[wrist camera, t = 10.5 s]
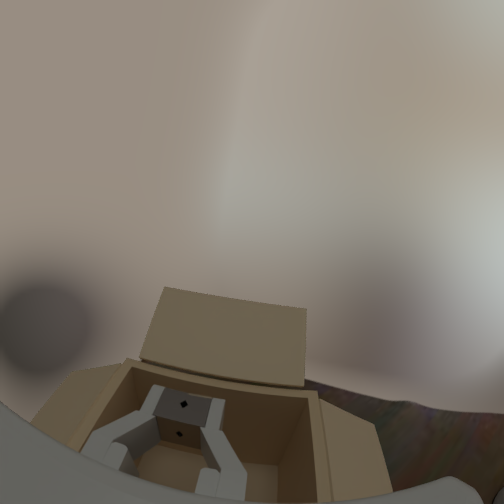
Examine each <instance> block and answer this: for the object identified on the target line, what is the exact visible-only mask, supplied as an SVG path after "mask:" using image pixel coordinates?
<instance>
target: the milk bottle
mask: <svg viewBox="0 0 504 504" xmlns="http://www.w3.org/2000/svg"><path fill="white" fill-rule="evenodd" d="M493 504H504V487H503V488H502V489H501V490H500V491H499V492H498V494H497V495H496V497H495V499H494V501H493Z"/></svg>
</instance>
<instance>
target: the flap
mask: <svg viewBox="0 0 504 504" xmlns="http://www.w3.org/2000/svg"><path fill="white" fill-rule="evenodd" d="M306 311H307V309H304V308H295V307H289V306H281V305H273V304H266V303H259V302H253V301H246V300H239V299H233V298H227V297H220V296H214V295H208V294H202V293H197V292H191V291H185V290H180V289H175V288H169V287H164V289H163V292H162V294H161V297H160V300H159V302H158V305H157V307H156V310H155V313H154V316H153V318H152V321H151V324H150V327H149V330H148V332H147V335H146V338H145V341H144V344H143V347H142V350H141V353H140V356H139V358H140V359H143V360H146V361H150V362H154V363H158V364H161V365H165V366H170V367H174V368H178V369H182V370H187V371H192V372H196V373H201V374H206V375H212V376H217V377H223V378H229V379H235V380H241V381H248V382H256V383H263V384H272V385H282V386H292V387H303V386H304V375H305V352H306Z"/></svg>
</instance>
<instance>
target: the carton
mask: <svg viewBox="0 0 504 504" xmlns="http://www.w3.org/2000/svg"><path fill="white" fill-rule="evenodd" d="M154 384H155V385H159V386H163V387H167V388H170V389H174V390H178V391H182V392H186V393H192V394H197V395H202V396H208V397H213V398H218V399H224V400H226V402H225V412H224V420H223V428H222V431H223V432H224V434H225V436H226V438H227V440H228V441H229V443H230V445H231V447H232V448H233V450H234V452H235V454H236V455H237V457H238V459H239V460H240V462H241V464H242V465H243V467H244V469H245V470H246V472H247V482H246V491H245V500H244V501H250V502H263V503H322V502H335V501H345V500H353V499H360V498H366V497H372V496H378V495H383V494H388V493H392V492H393V490H392V486H391V482H390V478H389V475H388V471H387V467H386V464H385V460H384V456H383V453H382V449H381V446H380V443H379V439H378V436H377V433H376V429H375V426H374V424H372V423H370V422H367V421H365V420H363V419H361V418H359V417H356V416H354V415H352V414H350V413H348V412H346V411H344V410H342V409H340V408H338V407H336V406H334V405H332V404H330V403H328V402H326V401H324V400H322V399H318V393H317V391H307V390H294V389H282V388H273V387H264V386H256V385H248V384H242V383H235V382H229V381H223V380H217V379H212V378H206V377H201V376H196V375H192V374H187V373H183V372H178V371H174V370H170V369H166V368H162V367H158V366H154V365H150V364H147V363H143V362H140V361H136V360H132V359H129V358H126V360H125V361H124V363H123V364H121V363H119V364H114V365H109V366H103V367H98V368H91V369H85V370H79V371H72V372H71V373H70V375H69V376H68V377H67V378H66V379H65V380H64V382H63V383H62V384H61V385H60V386H59V387H58V389H57V390H56V391H55V392H54V393H53V395H52V396H51V397H50V398H49V399H48V401H47V402H46V403H45V404H44V406H43V407H42V408H41V409H40V411H39V412H38V413H37V415H36V416H35V417H34V418H33V419H32V421H31V422H30V424H32V425H33V426H35V427H36V428H38V429H39V430H41V431H42V432H44V433H45V434H47V435H49V436H50V437H52V438H54V439H55V440H57V441H59V442H61V443H62V444H64V445H66V446H68V447H70V448H71V449H73V450H75V451H77V452H79V453H80V452H81V451H82V449H83V447H84V446H85V444H86V442H87V440H88V439H89V437H90V435H91V434H92V432H93V431H95V430H97V429H99V428H101V427H103V426H105V425H107V424H110V423H112V422H114V421H116V420H118V419H120V418H122V417H124V416H126V415H128V414H130V413H132V412H134V411H136V410H137V411H140V409H141V407H142V405H143V403H144V401H145V399H146V397H147V395H148V393H149V391H150V389H151V387H152V386H153V385H154ZM133 462H134V464H135V466H136V468H137V470H138V472H139V477H138V478H141V479H144V480H147V481H150V482H154V483H157V484H160V485H164V486H167V487H171V488H175V489H179V490H183V491H187V492H192V493H195V489H196V486H197V482H198V478H199V474H200V470H201V469H203V468H208V466H207V464H206V461H205V459H204V457H203V454H202V452H201V450H199V449H195V448H191V447H187V446H183V445H179V444H175V443H170V442H166V441H162V440H161V442H159V443H158V444H157V445H155V446H154V447H153V448H151V449H150V450H148V451H147V452H146V453H144V454H143V455H141V456H140V457H138V458H137V459H136V460H134V461H133Z"/></svg>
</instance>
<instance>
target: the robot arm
mask: <svg viewBox="0 0 504 504" xmlns="http://www.w3.org/2000/svg"><path fill="white" fill-rule="evenodd" d="M225 402H226V400H224V399H218V398H213V397H208V396H202V395H197V394H192V393H186V392H182V391H178V390H174V389H170V388H167V387H163V386H159V385H155V384H154V385H153V386H152V387H151V389H150V391H149V393H148V395H147V397H146V399H145V401H144V403H143V405H142V407H141V409H140V411H137V410H136V411H134V412H132V413H130V414H128V415H126V416H124V417H122V418H120V419H118V420H116V421H114V422H112V423H110V424H107V425H105V426H103V427H101V428H99V429H97V430H95V431H93V432H92V434H91V435H90V437H89V439H88V440H87V442H86V444H85V446H84V447H83V449H82V451H81V452H80V453H79V452H77V451H75V450H73V449H71V448H70V447H68V446H66V445H64V444H62V443H61V442H59V441H57V440H55V439H54V438H52V437H50V436H49V435H47V434H45V433H44V432H42V431H41V430H39V429H38V428H36V427H35V426H33V425H32V424H30V423H29V422H27V421H26V420H24V419H23V418H21V417H20V416H19V415H17V414H16V413H15V412H13V411H12V410H11V409H9V408H8V407H7V406H6V405H4V404H3V403H2V402H1V401H0V504H483V501H482V499H481V498H480V496H479V494H478V493H477V491H476V490H475V489H474V488H472V487H471V486H469V485H467V484H466V483H464V482H462V481H460V480H459V479H457V478H454V477H452V476H448V477H444V478H441V479H438V480H435V481H432V482H429V483H426V484H423V485H419V486H416V487H412V488H409V489H405V490H401V491H397V492H392V493H388V494H383V495H378V496H372V497H366V498H360V499H353V500H345V501H335V502H322V503H263V502H250V501H244V500H245V491H246V482H247V472H246V470H245V469H244V467H243V465H242V464H241V462H240V460H239V459H238V457H237V455H236V454H235V452H234V450H233V448H232V447H231V445H230V443H229V441H228V440H227V438H226V436H225V434H224V432H223V431H222V428H223V420H224V412H225ZM161 440H162V441H166V442H170V443H175V444H179V445H183V446H187V447H191V448H195V449H199V450H201V452H202V454H203V457H204V459H205V461H206V464H207V466H208V468H203V469H201V470H200V474H199V478H198V482H197V486H196V489H195V493H192V492H187V491H183V490H179V489H175V488H171V487H167V486H164V485H160V484H157V483H154V482H150V481H147V480H144V479H141V478H138V477H139V472H138V470H137V468H136V466H135V464H134V462H133V461H134V460H136V459H137V458H138V457H140V456H141V455H143V454H144V453H146V452H147V451H148V450H150V449H151V448H153V447H154V446H155V445H157V444H158V443H159V442H161Z"/></svg>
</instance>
